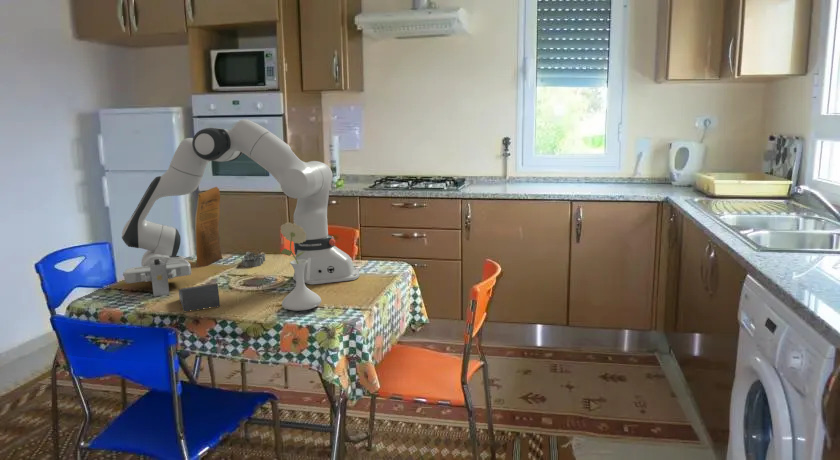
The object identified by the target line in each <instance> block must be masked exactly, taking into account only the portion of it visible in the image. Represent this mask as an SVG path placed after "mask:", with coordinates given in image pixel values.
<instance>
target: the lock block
mask: <svg viewBox="0 0 840 460" xmlns="http://www.w3.org/2000/svg"><path fill="white" fill-rule="evenodd" d="M149 264H150V272H151V281H150V282H151V287H152V294H153V297H154V298H157V297H163V296H162V295H164V296H168V295H169V296H170V287H169V280H168V279H169V278H168V277H167V269H166V263H165V261H160V259H155V260H154V262H152V263H149ZM156 296H157V297H156Z"/></svg>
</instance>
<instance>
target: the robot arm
mask: <svg viewBox="0 0 840 460" xmlns="http://www.w3.org/2000/svg"><path fill="white" fill-rule="evenodd" d="M243 154H244V155H245V156H247V157H248V158H249V159H251V160H252V161H254V163H257V164H258V165H259V166H260V167H262V169H264V170H265V171H267V172H268V173H269V174H270V175H272V177H273V178H274V179H275V180H276V182H278V184H279V185H280V189H281V191H282V192H283V193H284V194H285V195H286V196H287V197H289V198H292V199H297V201H296V207H295V210H294V212H293V223H295V224H296V225H297V226H300V227H301V228H303V229H304V230H303V231H304V232H306V235H307V236H306V239H305V240H306V241H305V242H303V243H300V244H298V243H294V242H293V251H294V252H293V253H294V255H295V258H296V259H297V260H307V261H308V262H307V263H306V265H305V268H304V283H305V284H308V285H320V284H329V283H338V282H347V281H354V280H356V279H358V278H359V277H360V275H361V274H360V273H361V272H360V270H359V268H357V267H354V265H353V261H352V258H351V257H350V255H349V254H348V253H346V252H345V251H343V250H342V249H340V248H338V247H337V246H336V239H335V237H334V236H333V235H329V230H328V229H329V227H328V205H329V196H330V188H331V184H332V183H333V177H334V175H333V172H332V169H331V168H330V166H329V165H328V164H327V163H324V162H322V161H318V160H311V161H307V162H306V161H304V160H301V159H300V158H299V157H298V156H297V155H296V154H295V153H294V151H293V150H292V147H291V146H290V145H289V144H288V143H286V142H285V141H284V140H282V139H281V138H280V137H278V136H277V135H275V133H273V132H271V131H269V130H268V128H265V127H264V126H262V125H261V124H258V123H257V122H254V121H252V120H250V119H247V118H243V119H240V120H239V121H236V122H235V123H234V124H233V126H232V128H231V129H224V128H221V127H220V128H218V127H205V128H203V129H200V130H198V131H197V132H196V133H195V134H194V136H193V137H187V138H184V139H183V140H181V142H180V143H179V144H178V146H177V148H176V149H175V152H174V154H173V156H172V159H171V160H170V162H169V163H170V164H169V166H168V168H167V169H166V171H165V172H164V173H163V174H162V175H159V176H155V178H153V180H152V181H151V182H150V183H149V185H148V187H147V188H146V191H145V192H144V194H143V196H142V197H141V198H140V201H139V202H138V204H137V206H136V208H135V209H134V212H133V213H132V214H131V217H130V218H129V220H128V221H127V222H126V224H125V225H124V227H123V229H122V232H121V239H122V241H123V242H124V244H126V245H125V246H127V247H130V248H135V249H143V250H146V251H144V253H143V255H142V258H141V260H140V261H141V266H136V267H129V268H126V269H125V270H124V271H123V273H122V276H123V278H124V283H125V284H135V283H142V282H145V283H149V282H152V281H151V272H150V264H149V263H152V262H154V260H155V259H160V261H165V263H166V269H167V277H168V279H169V280H171V279H174V278H178V277H185V276H186V277H187V276H190V275H192V267H191V263H190V262H189V261H188V260H187V259H186V258H184V256H182V255H178V253H179V250H180V246H181V235H180V231H179V230H178V229H177V228H176V227H172V226H169V225H165V224H160V223H157V222H152V221H149V220H147V216H148V215H149V213H150V211H151V210H152V208H153V206H154V204H155V203H156V201H158V200H159V199H161V198H166V197H172V196H173V197H178V196H185V195H189V194H191V193H193V192H195V191H197V189H198V188H199V186H200V184H201V181H202V180H203V176H204V174H205V169H206V167H207V165H208V164H209V162H211V161H213V162H220V163H221V162H232V161H235V160H237V159H239V158H240V157H241V156H242V155H243ZM303 251H305V252H304V253H303V254H302V255H300V256H298V257H296V256H297V255H298V254H299V253H301V252H303ZM292 279H293V280H294V281H295V282H296V275H295V271H294V272H293V277H292Z"/></svg>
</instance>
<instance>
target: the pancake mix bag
mask: <svg viewBox="0 0 840 460" xmlns="http://www.w3.org/2000/svg"><path fill="white" fill-rule="evenodd" d="M196 200H197V201H196V209H195V220H194V221H195V222H194V224H195V225H194V226H195V228H194V232H195V234H194V235H195V251H196V255H195V256H196V267H197V268H202V267H208V266H209V265H212V264H214V263H216V262H217V261H220V260H223V254H222V246H221V237H220V230H219V225H220V224H219V222H220V217H221V212H220V211H221V210H220V206H221V205H220V204H221V193H220V189H219V188H218V186H215V187H212V188H209V189H207V190H205V191H202V192H199V193H198V196H197V199H196Z"/></svg>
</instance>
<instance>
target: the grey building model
mask: <svg viewBox="0 0 840 460" xmlns="http://www.w3.org/2000/svg"><path fill="white" fill-rule="evenodd" d="M265 261H266V253H257V255H255V253H254V252H250V251H249V250H247V251H246V253H245V255H244V256H243V257H242V258H241V263H242V267H244V268H249V267H256V268H257V267H259V266H260V267H261V266H262V264H264V262H265Z"/></svg>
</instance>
